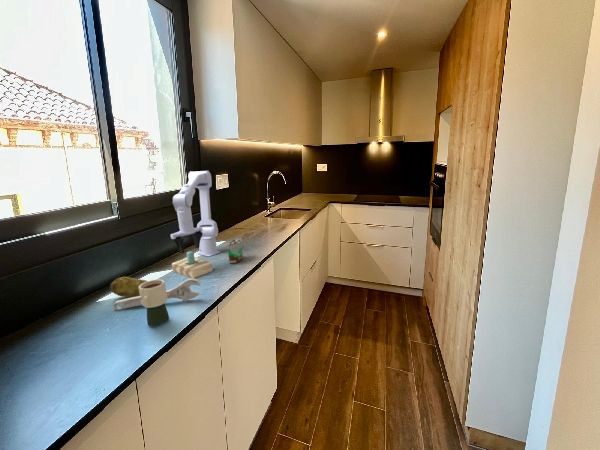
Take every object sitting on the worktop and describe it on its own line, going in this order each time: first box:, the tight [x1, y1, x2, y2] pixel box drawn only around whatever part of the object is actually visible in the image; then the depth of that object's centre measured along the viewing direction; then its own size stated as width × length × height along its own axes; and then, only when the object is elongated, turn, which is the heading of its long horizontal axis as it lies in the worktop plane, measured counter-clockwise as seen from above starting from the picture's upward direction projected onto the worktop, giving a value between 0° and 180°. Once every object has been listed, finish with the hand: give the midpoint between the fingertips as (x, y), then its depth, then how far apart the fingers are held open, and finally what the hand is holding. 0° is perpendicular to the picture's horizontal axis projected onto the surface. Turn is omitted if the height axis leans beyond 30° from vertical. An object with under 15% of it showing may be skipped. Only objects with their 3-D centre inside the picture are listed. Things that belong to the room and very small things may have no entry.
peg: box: [186, 251, 196, 265], centre depth 129 cm, size 3×3×9 cm
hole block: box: [171, 257, 214, 279], centre depth 130 cm, size 16×10×4 cm, turn 53°
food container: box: [226, 237, 244, 265], centre depth 140 cm, size 12×6×10 cm, turn 179°
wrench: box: [112, 277, 201, 311], centre depth 100 cm, size 8×2×30 cm
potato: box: [109, 276, 148, 298], centre depth 107 cm, size 8×13×8 cm, turn 98°
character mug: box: [139, 279, 170, 327], centre depth 88 cm, size 11×7×13 cm, turn 4°
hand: (189, 250), depth 128 cm, fingers open, 7 cm apart
